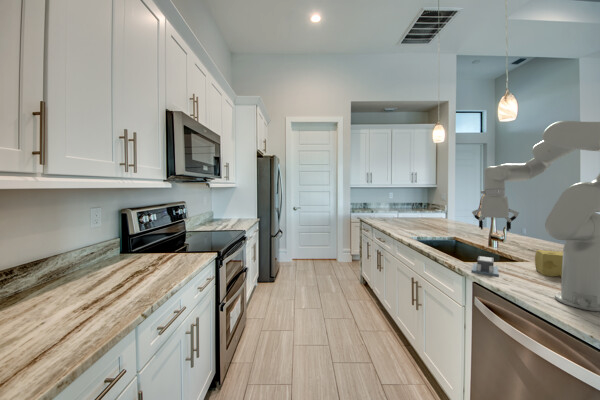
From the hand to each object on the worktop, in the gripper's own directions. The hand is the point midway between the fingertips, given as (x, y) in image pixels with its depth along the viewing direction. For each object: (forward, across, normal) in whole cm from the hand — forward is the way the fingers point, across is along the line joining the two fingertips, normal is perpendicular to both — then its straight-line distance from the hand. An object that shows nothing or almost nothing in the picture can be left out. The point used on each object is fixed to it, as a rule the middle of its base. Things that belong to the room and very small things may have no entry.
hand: (494, 229), depth 120 cm
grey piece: (+20, -4, +2) cm, 20 cm away
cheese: (+21, +22, +14) cm, 33 cm away
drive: (+19, -3, +2) cm, 19 cm away
